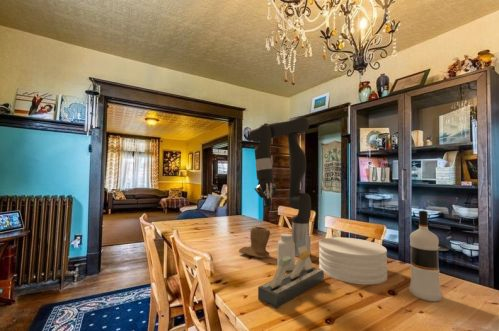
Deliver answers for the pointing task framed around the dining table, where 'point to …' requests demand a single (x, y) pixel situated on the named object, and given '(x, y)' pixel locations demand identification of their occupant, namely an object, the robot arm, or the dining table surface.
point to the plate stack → (353, 260)
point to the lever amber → (300, 264)
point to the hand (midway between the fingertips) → (268, 206)
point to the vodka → (424, 262)
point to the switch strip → (290, 287)
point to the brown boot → (257, 242)
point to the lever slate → (303, 248)
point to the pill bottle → (286, 250)
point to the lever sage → (280, 271)
